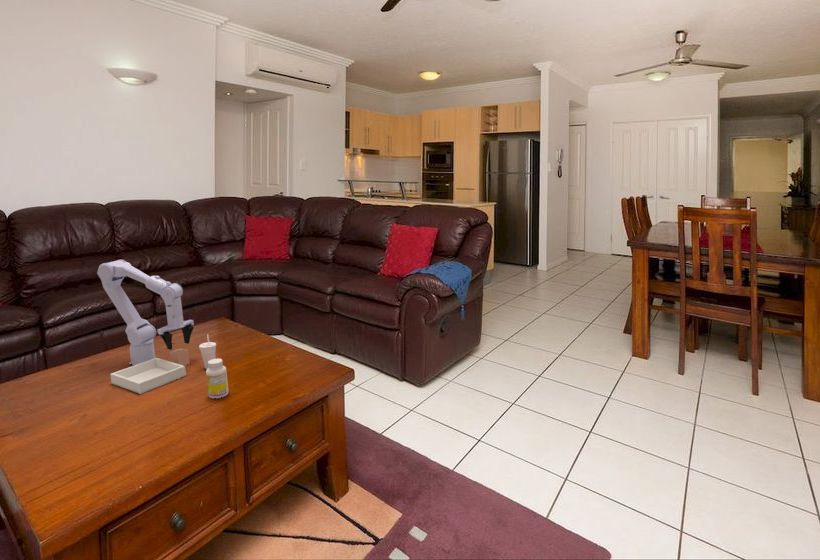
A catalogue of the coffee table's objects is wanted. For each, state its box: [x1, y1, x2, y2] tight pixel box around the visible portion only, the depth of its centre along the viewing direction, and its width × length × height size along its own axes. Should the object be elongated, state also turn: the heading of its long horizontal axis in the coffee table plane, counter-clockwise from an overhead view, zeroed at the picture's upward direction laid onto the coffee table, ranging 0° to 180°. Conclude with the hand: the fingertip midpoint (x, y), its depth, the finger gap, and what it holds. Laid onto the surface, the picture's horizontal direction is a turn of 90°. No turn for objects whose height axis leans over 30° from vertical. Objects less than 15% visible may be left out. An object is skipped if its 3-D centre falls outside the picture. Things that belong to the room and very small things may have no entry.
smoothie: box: [198, 333, 217, 370], centre depth 184 cm, size 6×6×14 cm
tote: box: [110, 357, 187, 395], centre depth 174 cm, size 18×18×4 cm
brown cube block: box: [169, 347, 191, 366], centre depth 188 cm, size 5×5×6 cm
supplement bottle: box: [205, 358, 230, 399], centre depth 160 cm, size 7×7×13 cm
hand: (178, 346), depth 187 cm, fingers open, 7 cm apart
